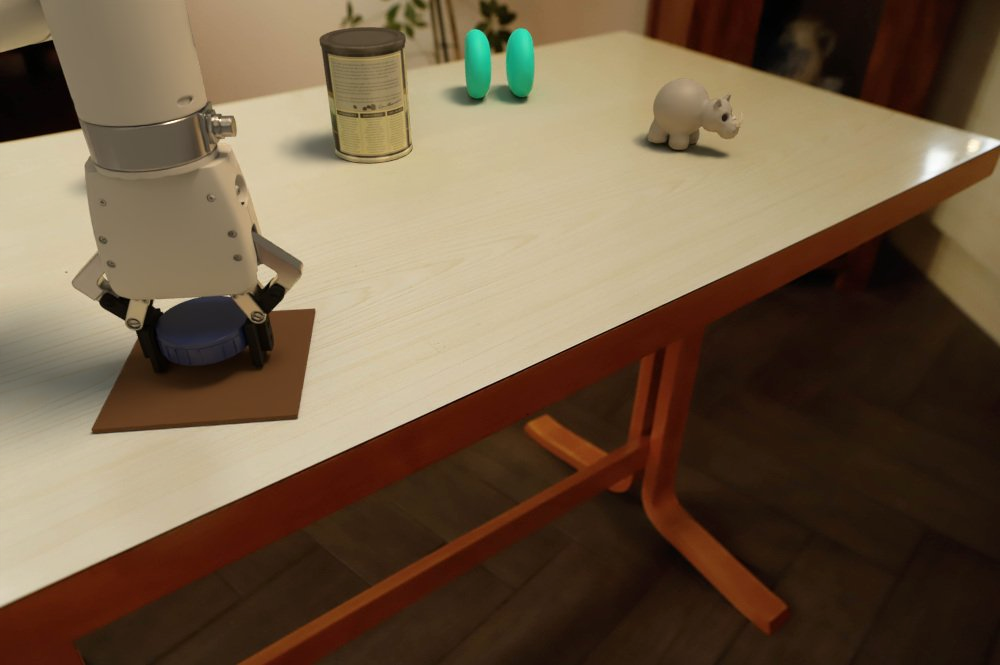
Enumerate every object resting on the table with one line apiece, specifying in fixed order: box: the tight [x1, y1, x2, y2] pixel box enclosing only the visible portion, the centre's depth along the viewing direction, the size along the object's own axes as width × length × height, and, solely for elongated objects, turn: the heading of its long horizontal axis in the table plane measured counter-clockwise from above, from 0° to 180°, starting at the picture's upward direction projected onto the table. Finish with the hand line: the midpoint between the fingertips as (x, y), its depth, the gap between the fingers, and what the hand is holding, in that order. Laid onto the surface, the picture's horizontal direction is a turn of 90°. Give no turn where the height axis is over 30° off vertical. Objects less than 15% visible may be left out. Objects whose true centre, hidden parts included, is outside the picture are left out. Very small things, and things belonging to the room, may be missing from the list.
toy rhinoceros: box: [647, 77, 744, 151], centre depth 94 cm, size 7×12×8 cm, turn 51°
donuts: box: [464, 27, 535, 99], centre depth 111 cm, size 10×10×10 cm
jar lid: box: [155, 295, 248, 366], centre depth 55 cm, size 7×7×2 cm
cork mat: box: [90, 308, 317, 434], centre depth 56 cm, size 14×14×1 cm
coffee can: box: [318, 26, 414, 164], centre depth 91 cm, size 10×10×14 cm
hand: (213, 357), depth 56 cm, fingers closed on jar lid, 6 cm apart
